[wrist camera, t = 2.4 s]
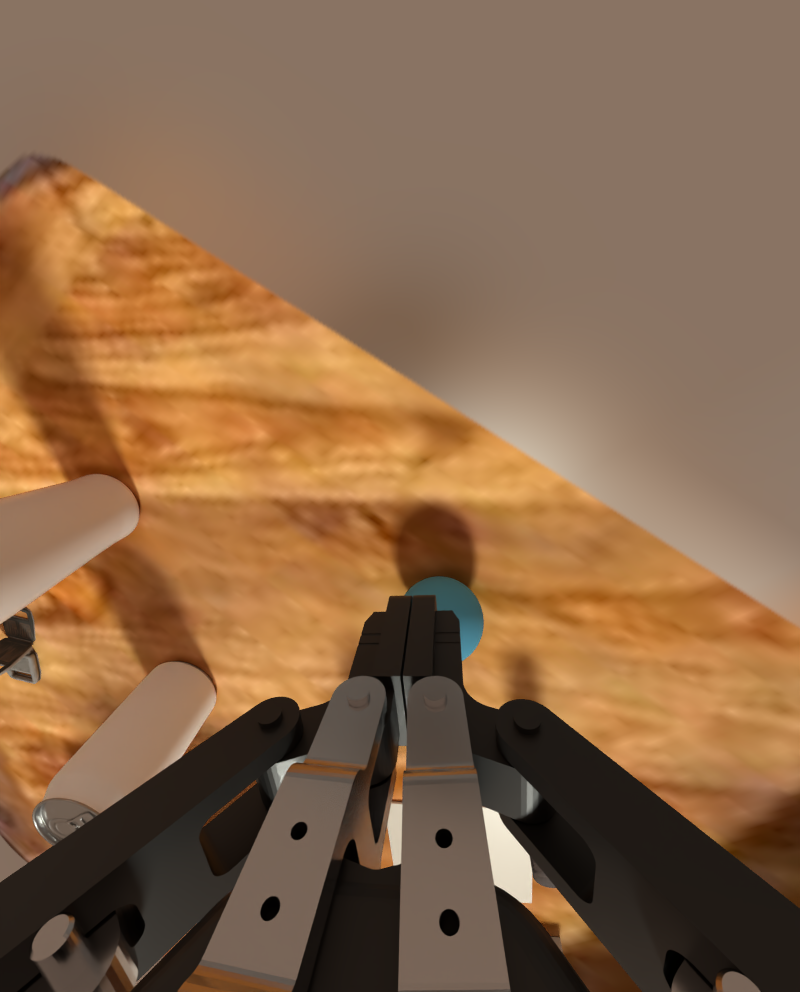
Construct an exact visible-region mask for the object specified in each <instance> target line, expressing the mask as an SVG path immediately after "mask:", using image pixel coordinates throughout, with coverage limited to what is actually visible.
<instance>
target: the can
mask: <svg viewBox="0 0 800 992" xmlns="http://www.w3.org/2000/svg"><path fill="white" fill-rule="evenodd" d="M215 703H216V692H215V687H214V684H213V682H212V680H211V679H210V678H209V676H208V675H207V674H206V673H205V672H204V671H202V670H201V669H200V668H198V667H196V666H194V665H192V664H189V663H186V662H180V661H173V662H166V663H162V664H160V665H158V666H157V667H155V668H154V669H153V670H152V671H151V672H150V673H149V674H148V675H147V676H146V677H145V678H144V680H143V681H142V682H141V683H140V684H139V685H138V686H137V687H136V688H135V689H134V690H133V691H132V692H131V694H130V695H129V696H128V697H127V698H126V699H125V700H124V701H123V702H122V703H121V704H120V705H119V707H118V708H117V709H116V710H115V711H114V712H113V713H112V714H111V715H110V716H109V717H108V718H107V720H106V721H105V722H104V723H103V724H102V725H101V726H100V727H99V728H98V729H97V730H96V731H95V733H94V734H93V735H92V736H91V737H90V738H89V739H88V740H87V741H86V742H85V743H84V745H83V746H82V747H81V748H80V749H79V750H78V751H77V752H76V753H75V754H74V755H73V757H72V758H71V759H70V760H69V761H68V762H67V763H66V764H65V765H64V766H63V768H62V769H61V770H60V771H59V772H58V773H57V774H56V776H55V777H54V778H53V779H52V781H51V782H50V784H49V786H48V788H47V791H46V793H45V796H44V798H43V801H42V802H40V803H39V804H38V805H37V806H36V807H35V808H34V811H33V815H32V818H33V823H34V825H35V827H36V829H37V831H38V832H39V833H40V835H41V836H42V837H43V838H44V839H45V840H46V841H48V842H49V843H50V844H51V845H53V846H54V845H55V844H57V843H58V842H59V841H61V840H62V839H64V838H65V837H67V836H68V835H70V834H71V833H72V832H74V831H75V830H77V829H78V828H80V827H81V826H83V825H84V824H86V823H87V822H88V821H90V820H91V819H93V818H94V817H96V816H97V815H99V814H100V813H101V812H103V811H104V810H106V809H107V808H109V807H110V806H112V805H113V804H114V803H116V802H117V801H119V800H120V799H122V798H123V797H125V796H126V795H128V794H129V793H130V792H132V791H133V790H135V789H136V788H138V787H139V786H141V785H142V784H143V783H145V782H146V781H148V780H149V779H151V778H152V777H154V776H155V775H156V774H158V773H159V772H161V771H162V770H164V769H165V768H167V767H168V766H169V765H171V764H172V763H174V762H175V761H177V760H178V759H180V758H181V757H182V756H183V754H184V753H185V751H186V749H187V748H188V746H189V745H190V743H191V742H192V740H193V739H194V737H195V736H196V734H197V733H198V731H199V729H200V728H201V726H202V725H203V723H204V722H205V720H206V719H207V717H208V715H209V714H210V712H211V711H212V709H213V707H214V705H215Z"/></svg>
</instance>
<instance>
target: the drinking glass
mask: <svg viewBox="0 0 800 992" xmlns="http://www.w3.org/2000/svg"><path fill="white" fill-rule="evenodd" d="M139 515H140V512H139V506H138V503H137V500H136V498H135V496H134V495H133V493H132V492H131V490H130V489H129V488H128V487H127V486H126V485H125V484H123V483H122V482H121V481H119V480H117V479H116V478H114V477H111V476H108V475H104V474H90V475H85V476H82V477H79V478H77V479H74V480H71V481H68V482H64V483H60V484H56V485H52V486H48V487H44V488H40V489H36V490H32V491H28V492H24V493H20V494H16V495H12V496H8V497H4V498H0V624H2V623H3V622H5V621H6V620H8V619H9V618H10V617H12V616H13V615H15V614H16V613H18V612H19V611H20V610H22V609H23V608H25V607H26V606H27V605H29V604H30V603H31V602H33V601H34V600H36V599H37V598H38V597H40V596H41V595H43V594H44V593H45V592H47V591H48V590H49V589H51V588H52V587H54V586H55V585H56V584H58V583H59V582H61V581H62V580H63V579H65V578H66V577H67V576H69V575H70V574H72V573H73V572H74V571H76V570H77V569H79V568H80V567H81V566H83V565H84V564H86V563H87V562H88V561H90V560H91V559H93V558H94V557H95V556H97V555H98V554H100V553H101V552H103V551H104V550H105V549H107V548H108V547H110V546H111V545H113V544H114V543H116V542H118V541H119V540H121V539H123V538H125V537H126V536H128V535H129V534H130V533H131V532H132V531H133V530H134V529H135V528H136V526H137V524H138V521H139Z"/></svg>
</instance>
